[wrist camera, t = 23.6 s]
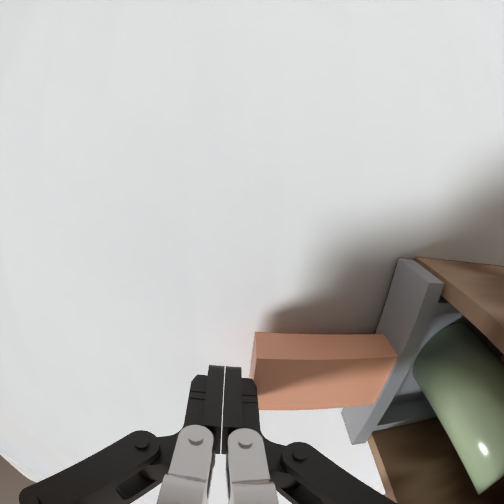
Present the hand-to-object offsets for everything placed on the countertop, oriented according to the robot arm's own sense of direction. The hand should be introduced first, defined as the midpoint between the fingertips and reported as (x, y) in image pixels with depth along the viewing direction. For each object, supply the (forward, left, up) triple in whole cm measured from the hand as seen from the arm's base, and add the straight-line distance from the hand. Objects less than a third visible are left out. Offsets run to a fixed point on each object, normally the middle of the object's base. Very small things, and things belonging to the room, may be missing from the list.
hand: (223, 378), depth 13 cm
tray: (+9, +5, -2) cm, 11 cm away
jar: (+12, +7, -1) cm, 14 cm away
